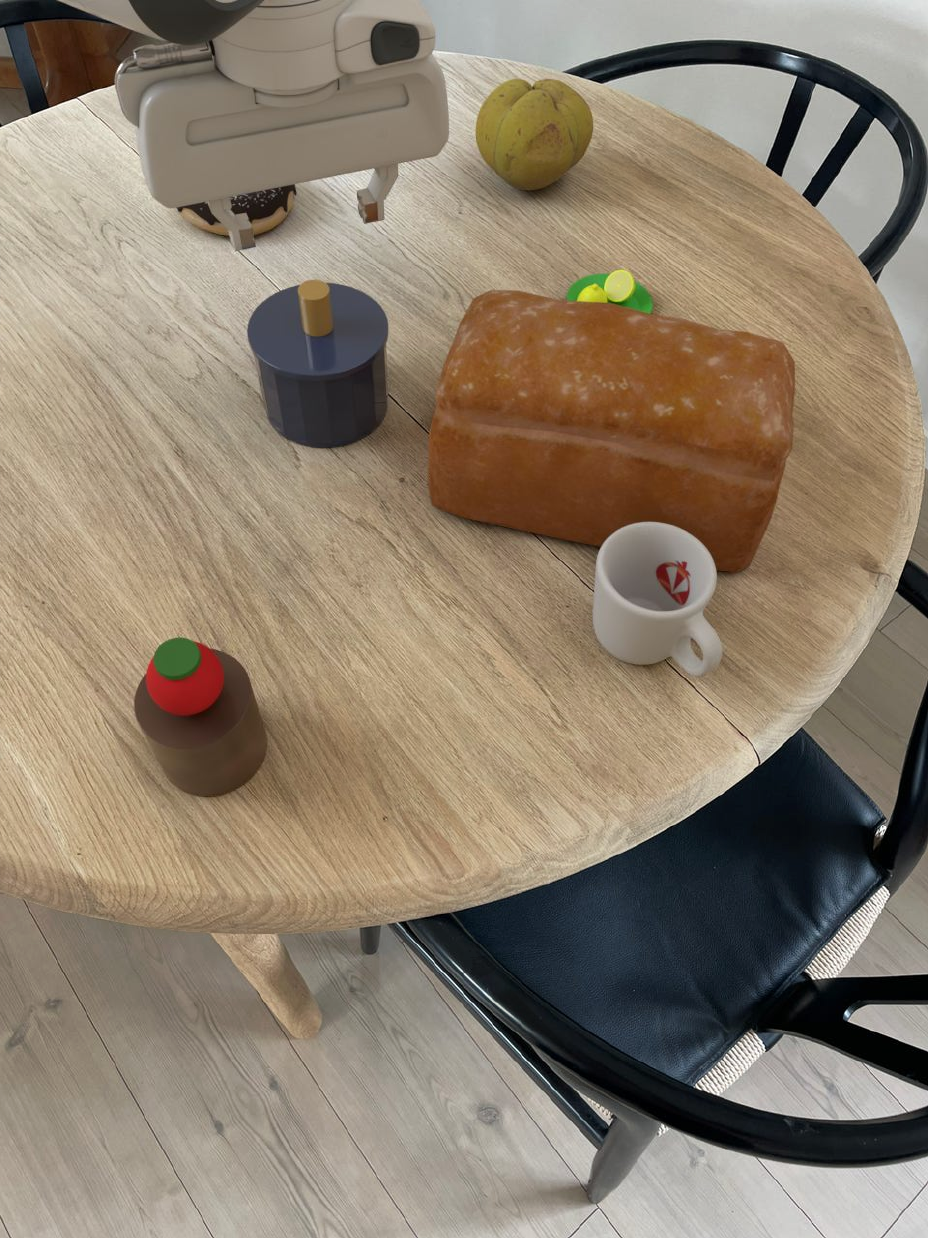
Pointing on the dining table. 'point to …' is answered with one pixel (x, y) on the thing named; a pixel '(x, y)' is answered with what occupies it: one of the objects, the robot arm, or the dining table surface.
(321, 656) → the dining table surface
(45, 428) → the dining table surface
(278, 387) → the pot
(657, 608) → the cup
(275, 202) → the donut
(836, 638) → the dining table surface
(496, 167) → the fruit
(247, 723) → the stand
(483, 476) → the bread
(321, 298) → the pot lid
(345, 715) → the dining table surface
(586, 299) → the green dish with lemons
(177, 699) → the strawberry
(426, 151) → the robot arm
